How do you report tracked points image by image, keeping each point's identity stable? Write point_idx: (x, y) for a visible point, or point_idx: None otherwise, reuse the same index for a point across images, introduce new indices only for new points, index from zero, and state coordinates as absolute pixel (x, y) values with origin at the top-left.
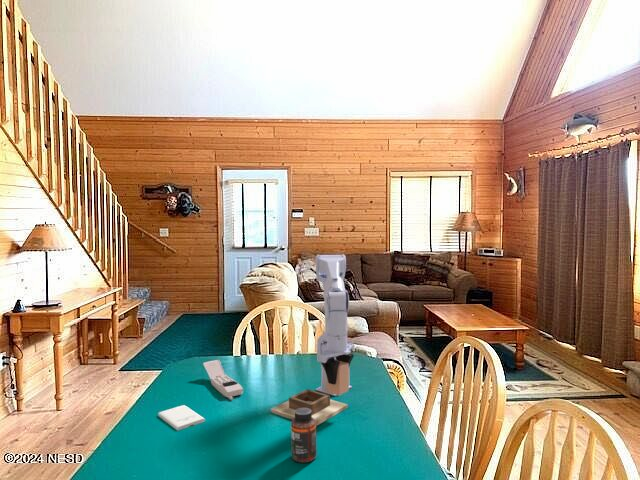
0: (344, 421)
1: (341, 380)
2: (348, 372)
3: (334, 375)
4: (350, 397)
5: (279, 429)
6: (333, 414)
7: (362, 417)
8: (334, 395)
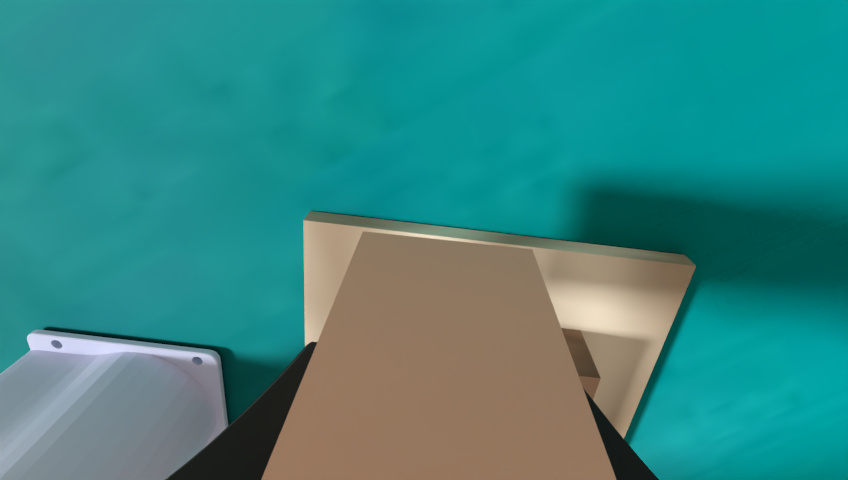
0: (516, 127)
1: (515, 340)
2: (311, 368)
3: (650, 474)
4: (160, 270)
5: (768, 387)
6: (475, 234)
7: (386, 39)
8: (218, 355)
